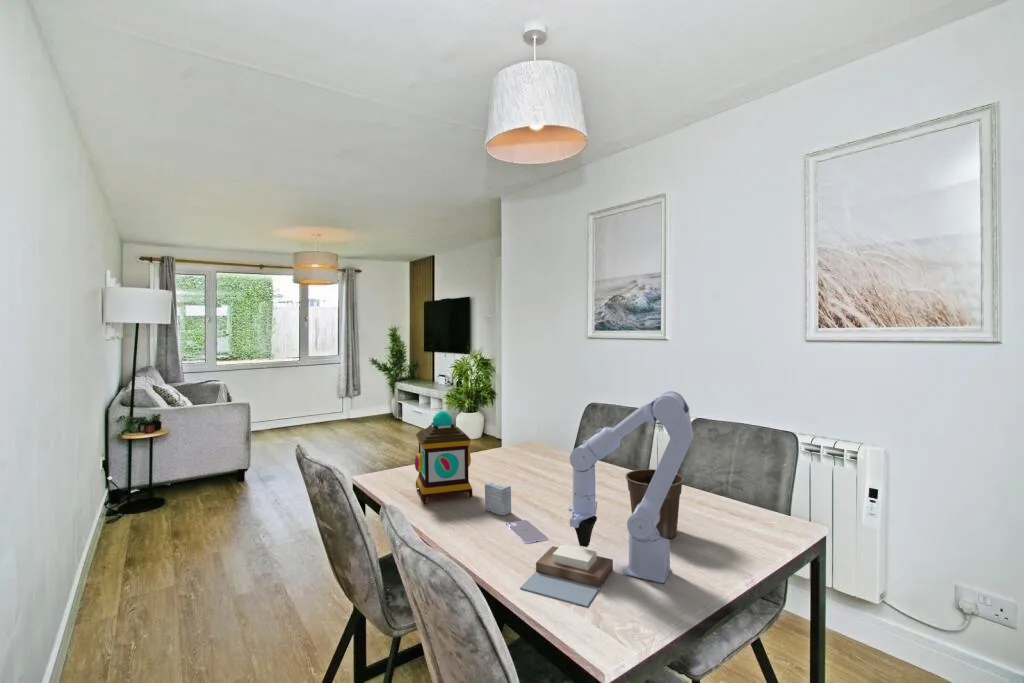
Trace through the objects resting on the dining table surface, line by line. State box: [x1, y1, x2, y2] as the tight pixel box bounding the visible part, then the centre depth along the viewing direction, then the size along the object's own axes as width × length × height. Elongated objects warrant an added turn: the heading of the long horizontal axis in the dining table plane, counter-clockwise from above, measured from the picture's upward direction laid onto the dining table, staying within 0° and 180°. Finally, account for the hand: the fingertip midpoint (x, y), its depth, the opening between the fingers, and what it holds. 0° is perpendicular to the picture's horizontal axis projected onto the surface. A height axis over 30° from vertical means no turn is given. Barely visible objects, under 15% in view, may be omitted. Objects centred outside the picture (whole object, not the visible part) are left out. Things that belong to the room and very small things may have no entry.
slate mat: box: [519, 571, 601, 608], centre depth 112 cm, size 16×8×1 cm, turn 62°
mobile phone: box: [504, 519, 548, 545], centre depth 144 cm, size 8×1×15 cm
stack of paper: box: [484, 481, 512, 517], centre depth 160 cm, size 8×4×9 cm, turn 47°
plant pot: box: [624, 468, 685, 540], centre depth 143 cm, size 16×16×16 cm
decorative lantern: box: [414, 410, 473, 504], centre depth 177 cm, size 20×20×30 cm
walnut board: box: [535, 545, 614, 589], centre depth 121 cm, size 16×10×2 cm, turn 62°
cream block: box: [553, 544, 597, 570], centre depth 121 cm, size 9×6×2 cm, turn 62°
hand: (584, 545), depth 127 cm, fingers closed
